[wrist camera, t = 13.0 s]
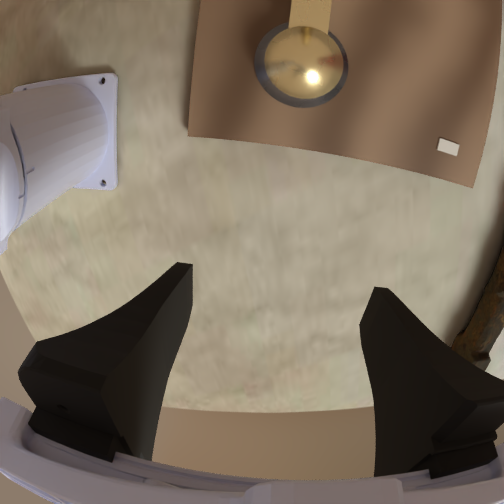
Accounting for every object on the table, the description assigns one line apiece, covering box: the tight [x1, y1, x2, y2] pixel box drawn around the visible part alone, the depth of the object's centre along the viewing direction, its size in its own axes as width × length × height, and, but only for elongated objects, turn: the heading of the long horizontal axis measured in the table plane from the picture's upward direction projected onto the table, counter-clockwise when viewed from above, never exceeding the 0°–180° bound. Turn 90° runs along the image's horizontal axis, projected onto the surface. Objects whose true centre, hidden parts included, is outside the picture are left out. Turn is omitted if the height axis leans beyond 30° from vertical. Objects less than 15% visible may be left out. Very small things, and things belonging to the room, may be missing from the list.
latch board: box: [188, 0, 502, 188], centre depth 14 cm, size 19×17×1 cm
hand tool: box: [451, 245, 504, 371], centre depth 22 cm, size 19×4×5 cm, turn 175°
